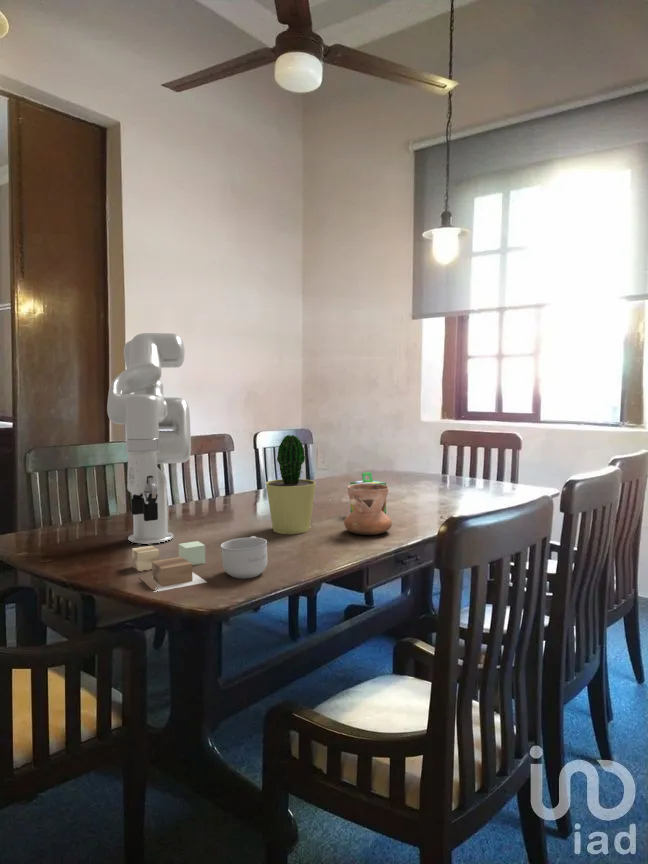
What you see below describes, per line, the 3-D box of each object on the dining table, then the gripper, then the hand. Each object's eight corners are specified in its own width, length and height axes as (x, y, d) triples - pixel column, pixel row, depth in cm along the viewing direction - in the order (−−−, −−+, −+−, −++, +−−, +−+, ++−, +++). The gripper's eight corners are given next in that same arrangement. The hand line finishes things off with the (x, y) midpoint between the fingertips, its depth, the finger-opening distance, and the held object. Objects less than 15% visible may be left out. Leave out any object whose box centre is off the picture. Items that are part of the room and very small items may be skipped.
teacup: (254, 584, 137) (253, 549, 136) (212, 579, 141) (211, 545, 140) (281, 567, 150) (280, 535, 149) (242, 563, 154) (241, 531, 153)
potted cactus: (255, 530, 189) (254, 433, 187) (290, 522, 200) (289, 430, 198) (291, 538, 179) (291, 435, 177) (326, 529, 190) (325, 432, 188)
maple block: (132, 568, 150) (132, 548, 149) (152, 565, 152) (152, 545, 152) (138, 573, 146) (138, 553, 145) (159, 570, 148) (158, 550, 148)
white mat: (137, 579, 141) (137, 577, 141) (187, 570, 148) (187, 569, 147) (154, 593, 131) (154, 591, 131) (207, 583, 137) (207, 582, 137)
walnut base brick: (152, 578, 140) (151, 561, 140) (181, 573, 144) (181, 556, 144) (162, 586, 134) (161, 568, 134) (192, 581, 138) (192, 563, 138)
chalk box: (368, 519, 204) (368, 475, 203) (349, 515, 211) (349, 472, 210) (387, 515, 210) (387, 472, 209) (368, 511, 217) (368, 469, 216)
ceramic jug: (372, 541, 175) (372, 492, 174) (331, 534, 184) (331, 487, 183) (405, 530, 189) (405, 484, 188) (366, 523, 198) (366, 480, 197)
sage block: (179, 563, 154) (178, 543, 154) (198, 560, 157) (197, 541, 156) (186, 568, 150) (185, 548, 150) (205, 565, 153) (205, 545, 152)
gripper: (117, 445, 152) (119, 513, 153) (137, 449, 137) (139, 525, 138) (147, 443, 156) (149, 510, 157) (170, 447, 142) (171, 521, 142)
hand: (144, 517), depth 148 cm, fingers open, 9 cm apart
